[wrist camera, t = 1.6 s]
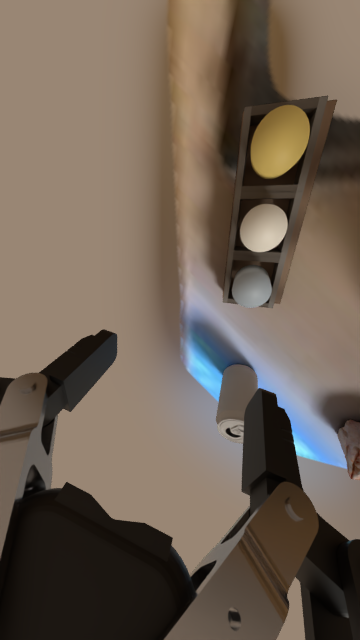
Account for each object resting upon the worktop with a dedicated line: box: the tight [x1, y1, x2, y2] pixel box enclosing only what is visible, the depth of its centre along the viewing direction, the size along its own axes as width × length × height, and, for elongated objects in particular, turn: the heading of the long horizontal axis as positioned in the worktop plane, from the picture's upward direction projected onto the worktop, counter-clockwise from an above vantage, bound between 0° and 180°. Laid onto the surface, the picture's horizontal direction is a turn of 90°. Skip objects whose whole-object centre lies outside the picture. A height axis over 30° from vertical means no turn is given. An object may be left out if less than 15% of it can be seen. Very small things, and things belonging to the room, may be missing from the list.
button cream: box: [240, 204, 288, 252], centre depth 20 cm, size 4×4×3 cm
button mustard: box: [251, 105, 310, 179], centre depth 17 cm, size 4×4×3 cm
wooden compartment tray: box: [223, 96, 337, 308], centre depth 23 cm, size 20×8×5 cm, turn 1°
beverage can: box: [216, 364, 258, 444], centre depth 34 cm, size 6×6×12 cm
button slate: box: [232, 265, 272, 308], centre depth 23 cm, size 4×4×3 cm
